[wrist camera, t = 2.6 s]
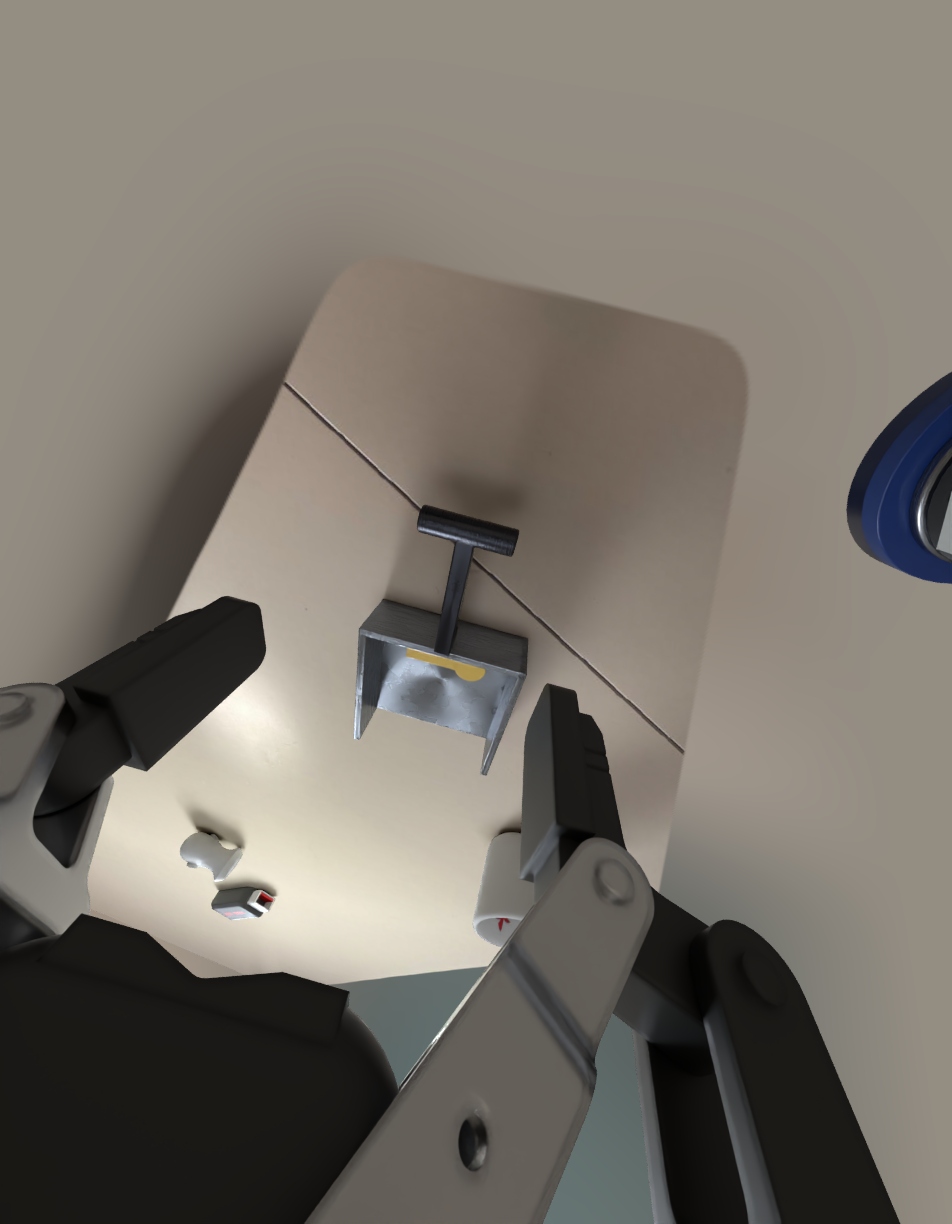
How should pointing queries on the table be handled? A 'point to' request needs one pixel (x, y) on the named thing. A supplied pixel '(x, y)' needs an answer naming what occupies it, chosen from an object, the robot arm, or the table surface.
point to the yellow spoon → (449, 665)
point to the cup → (502, 891)
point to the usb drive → (242, 903)
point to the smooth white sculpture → (209, 854)
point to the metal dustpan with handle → (443, 648)
